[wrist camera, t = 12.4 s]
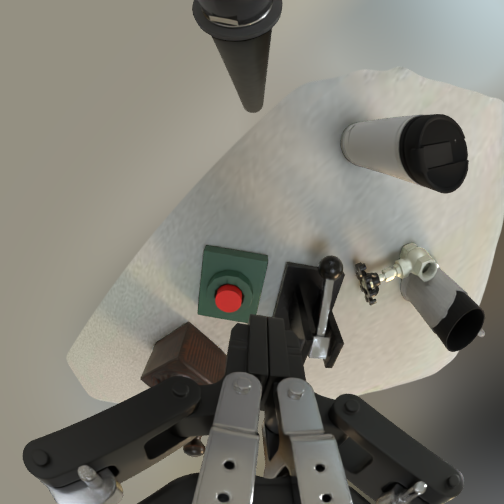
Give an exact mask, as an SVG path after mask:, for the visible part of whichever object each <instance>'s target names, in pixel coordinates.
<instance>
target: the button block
mask: <svg viewBox="0 0 504 504" xmlns="http://www.w3.org/2000/svg"><path fill="white" fill-rule="evenodd" d="M267 264H268V256H267V255H262V254H256V253H250V252H244V251H238V250H232V249H227V248H221V247H215V246H209V245H206V247H205V249H204V254H203V263H202V272H201V282H200V293H199V304H198V315H204V316H209V317H215V318H220V319H226V320H232V321H238V322H245V323H248V321H249V316H250V314H254V315H256V313H257V309H258V305H259V300H260V296H261V291H262V287H263V282H264V278H265V273H266V269H267ZM226 284H231V285H235V286H236V287H238V288H239V289H240V290H241V293H242V302H241V306H240V308H239V309H238V310H236V311H234V312H224V311H222V310H220V309H219V308H218V307H217V305H216V303H215V298H216V294H217V291H218V289H219V288H220V287H221V286H223V285H226Z"/></svg>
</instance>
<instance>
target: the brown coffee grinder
mask: <svg viewBox="0 0 504 504" xmlns="http://www.w3.org/2000/svg"><path fill="white" fill-rule="evenodd" d="M226 359H227V356H226V355H225V354H224V352H223V351H222V350H221V349H220V348H219V347H217V346H216V345H215V344H214V343H213V342H212V341H211V340H210V339H208V338H207V337H206V336H205V335H204V334H203V333H201V332H200V331H199V330H198V329H197V328H196V327H194V326H193V325H192V324H191V323H190V322H189V323H187V324H185V325H183V326H181V327H179V328H178V329H176V330H175V331H173V332H172V333H170V334H169V335H167V336H166V337H164V338H162V339H161V340H160V341H158V342H157V343H156V344H155V346H154V349H153V351H152V353H151V356H150V358H149V360H148V362H147V364H146V367H145V369H144V371H143V374H142V376H141V380H142V381H143V382H144V383H146V384H147V385H148V386H149V387H153V386H155V385H157V384H159V383H160V382H162V381H164V380H166V379H168V378H170V377H174V376H184V377H188V378H190V379H192V380H194V381H195V382H196V383H197V384H198V385H208V384H213V383H216V382H218V381H220V380H221V379H222V378H223V377H224V374H225V367H226ZM201 437H202V436H196V437H195V438H194V439H193V440H191V441H190V442H188V443H187V444H185V445H184V447H183V450H184V453H186V454H187V455H189V456H192V457H198V456H201V455H203V454H204V453H205V449H206V448H205V446H204V445H203V444H202V442H201V441H200V439H201Z"/></svg>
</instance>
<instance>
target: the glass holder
mask: <svg viewBox="0 0 504 504" xmlns="http://www.w3.org/2000/svg"><path fill="white" fill-rule="evenodd" d="M435 262H436V261H435ZM436 263H437V262H436ZM437 265H438V264H437ZM401 293H402V295H403V297H404V298H405V299H406V300H407V301H410V302H411V303H412V304H413V306H414V307H415V308H416V310H417V311H418V312H419V313H420V315H421V316H422V317H423V319H424V320H425V321H426V323H427V324H428V325H429V327H430V328H431V329H432V331H433V332H434V333H435V334H437V335H438V337H439V338H440V340H441V341H442V342H443V344H444V345H445V347H446V348H447V349H448V350H449V351H451V352H455V351H459V350H461V349H463V348H464V347H466V346H467V345H468V344H470V343H471V342H472V341H473V340H474V338H475V337H476V336H477V335H479V336H480V337H483V336H484V335H485V333H484V331H483V329H482V325H483V323H484V318H485V315H484V311H483V310H482V309H481V308H480V307H479V306H478V305H477V304H476V303H475V302H474V301H473V300H472V299H471V298H470V297H469V296H468V294H467V293H466V292H465V291H464V290H463V289H462V288H461V287H460V286H459V285H458V284H457V283H456V282H455V281H454V280H452V279H451V278H450V277H449V276H448V275H447V274H446V273H445V272H443V271H442V270H441V269H440V268H439V266H438V268H437V272H436V274H435V276H434V277H433V278H432V279H430V280H428V281H425V282H423V281H422V279H421V278H420V277H419V276H418V275H415V274H412V273H409V275H408V277H406V278H403V279H402V282H401Z"/></svg>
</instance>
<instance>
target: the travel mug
mask: <svg viewBox="0 0 504 504" xmlns="http://www.w3.org/2000/svg"><path fill="white" fill-rule="evenodd" d="M464 138H465V136H464V134H463V131H462V129H461V128H460V126H459V125H458V124H457V123H456V122H455V121H454V120H453V119H452V118H450V117H449V116H446V115H443V114H434V115H412V116H402V117H393V118H385V119H378V120H371V121H364V122H358V123H354V124H351V125H350V126H348V127H347V128H346V129H345V130H344V132H343V134H342V137H341V149H342V152H343V154H344V156H345V157H346V158H347V160H348V161H350V162H351V163H352V164H354V165H357V166H360V167H364V168H367V169H371V170H374V171H377V172H381V173H384V174H387V175H390V176H393V177H396V178H399V179H402V180H405V181H408V182H411V183H414V184H417V185H420V186H422V187H427V188H430V189H432V190H435V191H438V192H440V193H451V192H453V191H455V190H456V189H458V188H459V187H460V185H461V184H462V183H463V181H464V179H465V177H466V174H467V171H468V162H469V160H467V157H468V153H467V146H466V142H465V140H464Z"/></svg>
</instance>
